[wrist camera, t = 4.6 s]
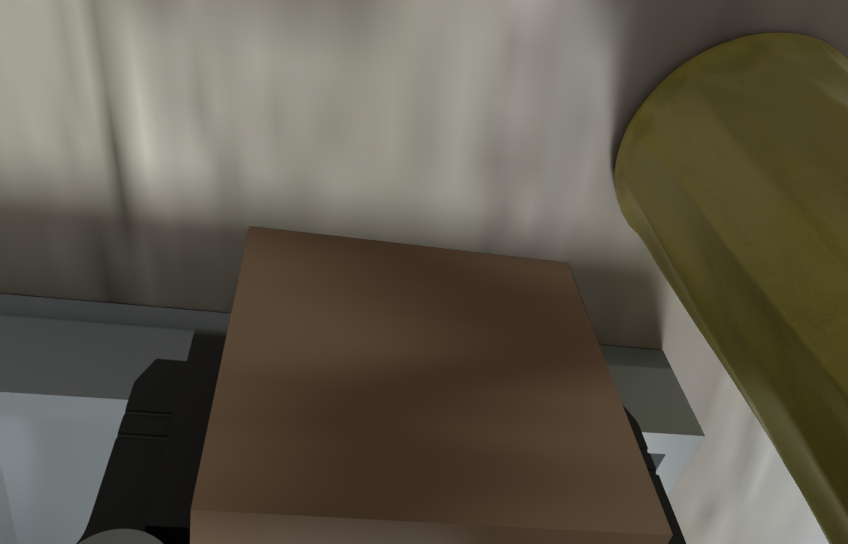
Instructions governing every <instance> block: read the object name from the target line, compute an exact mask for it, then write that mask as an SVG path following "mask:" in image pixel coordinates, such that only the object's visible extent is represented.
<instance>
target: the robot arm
mask: <svg viewBox="0 0 848 544" xmlns="http://www.w3.org/2000/svg"><path fill="white" fill-rule="evenodd" d="M226 336H227V331H219V330H208V329H197V328H196V329H195V331H194V335H193V338H192V342H191V346H190V350H189V354H188V358H187V361H180V360H168V359H155V360H154V362H153V363H152V364H151V365H150V366H149V367H148V368H147V369H146V370H145V371H144V372H143V373H142V374H141V375H140V376H139V377H138V378H137V379H136V380H135V381H134V384H133V387H132V390H131V393H130V396H129V399H128V402H127V406H126V409H125V415H123V418H122V421H121V424H120V427H119V430H118V436H117V438H116V439H115V442H114V445H113V449H112V452H111V455H110V458H109V461H108V464H107V467H106V470H105V473H104V476H103V479H102V482H101V485H100V488H99V491H98V495H97V498H96V501H95V504H94V507H93V510H92V513H91V516H90V519H89V522H88V525H87V527H86V529H85V532H84V533H83V535H82V537H81V538H80V540H79V541H78V542H77V544H190V518H191V506H192V501H193V496H194V491H195V486H196V481H197V477H198V472H199V467H200V462H201V457H202V452H203V447H204V443H205V438H206V433H207V428H208V423H209V418H210V413H211V409H212V404H213V399H214V394H215V389H216V384H217V379H218V375H219V370H220V365H221V360H222V355H223V350H224V345H225V341H226ZM622 405H623V404H622ZM623 407H624V405H623ZM624 410H625V413H626V415H627V418H628V420H629V423H630V426H631V428H632V431H633V433H634V436H635V438H636V441H637V444H638V446H639V449H640V451H641V454H642V457H643V459H644V462H645V464H646V467H647V469H648V472H649V475H650V477H651V480H652V482H653V485H654V488H655V490H656V493H657V495H658V498H659V500H660V503H661V506H662V508H663V511H664V513H665V516H666V519H667V521H668V524H669V526H670V529H671V531H672V534H673V536H672V538H671V539H670V541H669V542H668V544H686V542H685V540H684V537H683V535H682V532H681V529H680V527H679V524H678V522H677V519H676V517H675V514H674V512H673V509H672V507H671V504H670V502H669V499H668V497H667V494H666V492H665V489H664V487H663V484H662V482H661V479H660V477H659V475H657V474H656V470H657V469H656V467H655V464H654V462H653V459H652V457H651V454H650V453H648V447H647V444H646V442H645V439H644V437H643V434H642V432H641V429H640V426H639V424H638V422H637V421H636V419H635V418H634V417H633V416H632V415H631V414H630V412H629V411H628V410H627V409H626V408H625V407H624Z"/></svg>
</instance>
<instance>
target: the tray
mask: <svg viewBox="0 0 848 544" xmlns="http://www.w3.org/2000/svg"><path fill="white" fill-rule="evenodd" d="M230 316H231V313H219V312H208V311H196V310H184V309H172V308H161V307H149V306H137V305H126V304H114V303H102V302H91V301H79V300H67V299H55V298H44V297H32V296H20V295H9V294H0V544H77V542H78V541H79V540H80V538H81V537H82V535H83V533H84V532H85V529H86V527H87V525H88V522H89V519H90V516H91V513H92V510H93V507H94V504H95V501H96V498H97V495H98V491H99V488H100V485H101V482H102V479H103V476H104V473H105V470H106V467H107V464H108V461H109V458H110V455H111V452H112V449H113V445H114V442H115V439H116V438H117V436H118V430H119V427H120V424H121V421H122V418H123V415H125V409H126V406H127V402H128V399H129V396H130V393H131V390H132V387H133V384H134V381H135V380H136V379H137V378H138V377H139V376H140V375H141V374H142V373H143V372H144V371H145V370H146V369H147V368H148V367H149V366H150V365H151V364H152V363H153V362H154V360H155V359H168V360H180V361H187V358H188V354H189V350H190V346H191V342H192V338H193V335H194V331H195V329H196V328H197V329H208V330H219V331H228V326H229V321H230ZM600 348H601V351H602V353H603V356H604V358H605V361H606V364H607V366H608V369H609V371H610V374H611V376H612V379H613V382H614V384H615V387H616V389H617V392H618V395H619V397H620V400H621V402H622V404H623V405H624V407H625V408H626V409H627V410H628V411H629V412H630V414H631V415H632V416H633V417H634V418H635V419H636V421H637V422H638V424H639V426H640V429H641V432H642V434H643V437H644V439H645V442H646V444H647V447H648V453H650V454H651V457H652V459H653V462H654V464H655V467H656V469H657V470H656V474H657V475H659V477H660V479H661V482H662V484H663V487H664V489H665V492H666V494H667V497H668V495H669V494H670V492H671V490H672V489H673V487H674V486H675V484H676V482H677V481H678V479H679V477H680V476H681V474H682V473H683V471H684V469H685V468H686V466H687V465H688V463H689V461H690V460H691V458H692V457H693V455H694V453H695V452H696V450H697V448H698V447H699V445H700V444H701V442H702V440H703V439H704V437H705V435H704V433H703V431H702V429H701V427H700V425H699V423H698V421H697V419H696V417H695V415H694V413H693V411H692V409H691V407H690V405H689V403H688V400H687V398H686V396H685V394H684V392H683V390H682V388H681V386H680V384H679V382H678V380H677V378H676V376H675V374H674V372H673V370H672V368H671V366H670V364H669V362H668V360H667V358H666V356H665V354H664V352H663V350H652V349H640V348H629V347H617V346H605V345H600Z"/></svg>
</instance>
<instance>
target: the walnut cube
mask: <svg viewBox="0 0 848 544" xmlns="http://www.w3.org/2000/svg"><path fill="white" fill-rule="evenodd" d="M672 536H673V534H672V531H671V529H670V526H669V524H668V521H667V519H666V516H665V513H664V511H663V508H662V506H661V503H660V500H659V498H658V495H657V493H656V490H655V488H654V485H653V482H652V480H651V477H650V475H649V472H648V469H647V467H646V464H645V462H644V459H643V457H642V454H641V451H640V449H639V446H638V444H637V441H636V438H635V436H634V433H633V431H632V428H631V426H630V423H629V420H628V418H627V415H626V413H625V410H624V407H623V405H622V402H621V400H620V397H619V395H618V392H617V389H616V387H615V384H614V382H613V379H612V376H611V374H610V371H609V369H608V366H607V364H606V361H605V358H604V356H603V353H602V351H601V348H600V345H599V343H598V340H597V338H596V335H595V333H594V330H593V327H592V325H591V322H590V320H589V317H588V314H587V312H586V309H585V307H584V304H583V302H582V299H581V296H580V294H579V291H578V289H577V286H576V283H575V281H574V278H573V276H572V273H571V271H570V268H569V265H568V263H565V262H556V261H547V260H539V259H530V258H521V257H513V256H504V255H495V254H487V253H478V252H469V251H461V250H452V249H443V248H435V247H426V246H417V245H409V244H400V243H391V242H383V241H374V240H365V239H357V238H348V237H339V236H331V235H322V234H313V233H305V232H296V231H287V230H279V229H270V228H261V227H253V226H249V229H248V234H247V239H246V243H245V248H244V253H243V258H242V263H241V268H240V273H239V277H238V282H237V287H236V292H235V297H234V302H233V307H232V311H231V316H230V321H229V326H228V331H227V336H226V341H225V345H224V350H223V355H222V360H221V365H220V370H219V375H218V379H217V384H216V389H215V394H214V399H213V404H212V409H211V413H210V418H209V423H208V428H207V433H206V438H205V443H204V447H203V452H202V457H201V462H200V467H199V472H198V477H197V481H196V486H195V491H194V496H193V501H192V506H191V518H190V544H668V542H669V541H670V539H671V538H672Z"/></svg>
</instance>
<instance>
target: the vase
mask: <svg viewBox="0 0 848 544" xmlns="http://www.w3.org/2000/svg"><path fill="white" fill-rule="evenodd" d="M614 172H615V189H616V194H617V199H618V202H619V205H620V208H621V212H622V214H623V215H624V217H625V219H626V221H627V222H628V224H629V226H630V227H631V228H632V229H633V230H634V231H635V232H636V233H637V234H638V235H639V237H640V238H641V239H642V240H643V242H644V243H645V245H646V247H647V248H648V250H649V252H650V253H651V255H652V257H653V258H654V260H655V262H656V263H657V265H658V267H659V268H660V270H661V271H662V273H663V275H664V276H665V278H666V279H667V281H668V282H669V284H670V286H671V287H672V289H673V290H674V292H675V293H676V295H677V296H678V298H679V300H680V301H681V303H682V304H683V306H684V307H685V309H686V310H687V312H688V314H689V315H690V317H691V318H692V320H693V321H694V323H695V324H696V326H697V327H698V329H699V330H700V332H701V333H702V335H703V336H704V338H705V339H706V341H707V342H708V344H709V345H710V347H711V348H712V350H713V351H714V353H715V354H716V356H717V357H718V359H719V360H720V362H721V363H722V365H723V366H724V368H725V369H726V371H727V372H728V374H729V375H730V377H731V378H732V380H733V381H734V383H735V385H736V386H737V388H738V389H739V391H740V392H741V394H742V396H743V397H744V399H745V400H746V402H747V404H748V405H749V407H750V408H751V410H752V411H753V413H754V415H755V416H756V418H757V419H758V421H759V423H760V424H761V426H762V427H763V429H764V430H765V432H766V434H767V435H768V437H769V439H770V440H771V442H772V443H773V445H774V447H775V448H776V450H777V452H778V454H779V455H780V457H781V459H782V461H783V462H784V464H785V466H786V467H787V469H788V471H789V472H790V474H791V476H792V477H793V479H794V481H795V482H796V484H797V486H798V487H799V489H800V491H801V492H802V494H803V496H804V498H805V500H806V501H807V503H808V505H809V507H810V509H811V511H812V512H813V514H814V516H815V518H816V520H817V522H818V524H819V525H820V527H821V529H822V531H823V533H824V535H825V536H826V538H827V540H828V542H829V544H848V58H847V57H846V56H845V55H844V54H842V53H841V52H840V51H838V50H837V49H836V48H834V47H833V46H831V45H829V44H827V43H826V42H824V41H821V40H819V39H817V38H814V37H810V36H806V35H801V34H794V33H779V32H775V33H760V34H753V35H748V36H743V37H739V38H736V39H733V40H730V41H727V42H724V43H722V44H719V45H717V46H715V47H712V48H710V49H708V50H706V51H704V52H702V53H700V54H698V55H696V56H694V57H693V58H691V59H690V60H688V61H686V62H685V63H683V64H682V65H680V66H679V67H678V68H677V69H675V70H674V71H673V72H672V73H671V74H669V75H668V76H667V77H666V78H665V79H664V80H663V81H662V82H661V83H660V84H659V85H658V86H657V87H656V88H655V89H654V90H653V92H652V93H651V94H650V95H649V96H648V97H647V98H646V100H645V101H644V102H643V104H642V105H641V106H640V108H639V109H638V110H637V112H636V113H635V115H634V116H633V118H632V120H631V121H630V123H629V124H628V126H627V129H626V131H625V133H624V136H623V138H622V141H621V144H620V148H619V151H618V154H617V159H616V165H615V171H614Z"/></svg>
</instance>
